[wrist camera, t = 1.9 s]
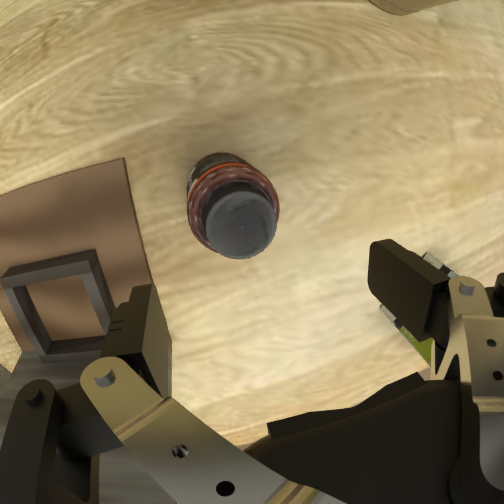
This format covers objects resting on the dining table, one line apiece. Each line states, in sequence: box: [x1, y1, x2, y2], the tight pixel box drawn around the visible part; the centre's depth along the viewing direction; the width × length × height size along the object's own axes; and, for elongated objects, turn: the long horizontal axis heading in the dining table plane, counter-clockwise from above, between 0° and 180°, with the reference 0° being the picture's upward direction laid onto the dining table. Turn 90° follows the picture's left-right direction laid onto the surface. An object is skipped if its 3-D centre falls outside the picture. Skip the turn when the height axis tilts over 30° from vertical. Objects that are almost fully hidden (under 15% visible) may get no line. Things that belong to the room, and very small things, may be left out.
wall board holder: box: [0, 158, 177, 504], centre depth 17 cm, size 20×20×21 cm
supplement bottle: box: [187, 153, 280, 259], centre depth 22 cm, size 6×6×11 cm
